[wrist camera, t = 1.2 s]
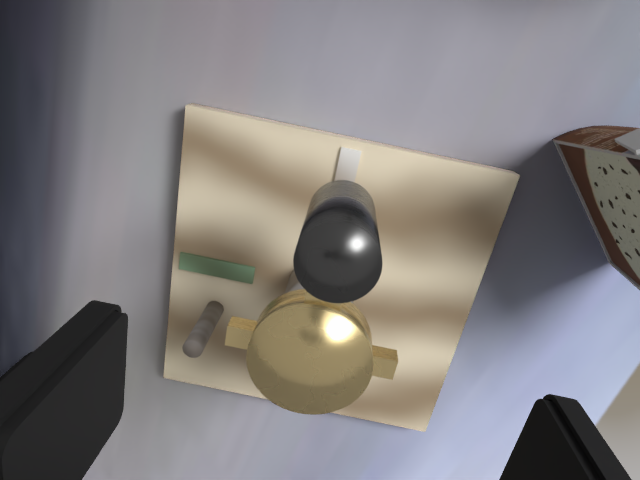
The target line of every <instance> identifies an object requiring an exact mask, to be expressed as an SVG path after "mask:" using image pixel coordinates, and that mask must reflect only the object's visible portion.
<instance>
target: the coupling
mask: <svg viewBox="0 0 640 480" xmlns="http://www.w3.org/2000/svg"><path fill="white" fill-rule="evenodd" d="M293 266H294V271H295V275H296V277H297V279H298V281H299V283H300V284H301V286H302V287H303V288H304V289H299V290H294V291H290V292H288V293H285V294H283V295H281V296H279V297H277V298H276V299H274V300H273V301H271V302H270V303H269V304H268V305H267V306H266V307H265V308H264V310H263V311H262V312H261V314H260V316H259V318H258V320H257V321H255V320H250V319H245V318H240V317H235V316H232V317H231V319H230V321H229V323H228V326H227V332H226V339H225V345H226V346H231V347H236V348H241V349H246V350H247V353H246V363H247V369H248V372H249V375H250V378H251V379H252V381H253V383H254V385H255V386H256V387H257V389H258V390H259V391H260V392H261V393H262V394H263V395H264V396H265V397H266V398H267V399H268V400H270V401H271V402H273V403H274V404H276V405H278V406H280V407H282V408H284V409H287V410H289V411H293V412H297V413H302V414H325V413H330V412H334V411H337V410H340V409H342V408H344V407H346V406H348V405H350V404H351V403H353V402H354V401H355V400H357V399H358V398H359V397H360V396H361V395H362V394H363V392H364V391H365V390H366V388H367V386H368V385H369V382H370V380H371V377H372V376H376V377H381V378H386V379H390V380H393V377H394V374H395V371H396V367H397V364H398V355H397V350H394V349H389V348H385V347H380V346H375V345H372V336H371V331H370V327H369V325H368V322H367V320H366V318H365V317H364V315H363V314H362V313H361V311H360V310H359V309H358V308H357V307H356V306H355V305H354V304H353V303H351V302H352V301H355V300H357V299H360V298H362V297H363V296H365V295H366V294H367V293H369V292H370V291H371V290H372V289H373V288H374V286H375V285H376V284H377V282H378V280H379V278H380V275H381V272H382V254H381V247H380V240H379V233H378V226H377V219H376V212H375V205H374V202H373V199H372V197H371V195H370V194H369V193H368V191H367V190H366V189H365V188H363V187H362V186H361V185H359V184H357V183H355V182H352V181H348V180H335V181H331V182H329V183H326V184H325V185H323V186H322V187H320V188H319V189H318V190H317V191H316V192H315V194H314V195H313V197H312V199H311V201H310V204H309V207H308V210H307V214H306V217H305V220H304V223H303V227H302V230H301V233H300V236H299V239H298V243H297V246H296V249H295V253H294V258H293Z"/></svg>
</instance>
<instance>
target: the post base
mask: <svg viewBox="0 0 640 480" xmlns="http://www.w3.org/2000/svg"><path fill="white" fill-rule="evenodd" d="M519 177H520V175H519V174H517V173H516V172H514V171H511V170H506V169H502V168H497V167H492V166H487V165H483V164H478V163H473V162H468V161H464V160H459V159H454V158H449V157H445V156H440V155H435V154H431V153H426V152H421V151H416V150H412V149H407V148H402V147H397V146H393V145H388V144H383V143H378V142H374V141H369V140H364V139H359V138H355V137H350V136H345V135H341V134H336V133H331V132H326V131H322V130H317V129H312V128H307V127H303V126H298V125H293V124H288V123H284V122H279V121H274V120H270V119H265V118H260V117H255V116H251V115H246V114H241V113H236V112H232V111H227V110H222V109H217V108H213V107H208V106H203V105H198V104H194V103H191V104H188V105H186V107H185V119H184V131H183V144H182V156H181V168H180V180H179V193H178V205H177V217H176V229H175V241H174V254H173V266H172V278H171V290H170V303H169V315H168V327H167V339H166V351H165V364H164V376H163V378H167V379H172V380H176V381H181V382H186V383H191V384H196V385H201V386H205V387H210V388H215V389H220V390H225V391H230V392H235V393H239V394H244V395H249V396H254V397H259V398H264V399H267V398H266V397H265V396H264V395H263V394H262V393H261V392H260V391H259V390H258V389H257V387H256V386H255V385H254V383H253V381H252V379H251V378H250V375H249V372H248V369H247V363H246V353H247V350H246V349H241V348H236V347H231V346H226V345H225V339H226V332H227V326H228V323H229V321H230V319H231V317H232V316H235V317H240V318H245V319H250V320H255V321H257V320H258V318H259V316H260V314H261V312H262V311H263V310H264V308H265V307H266V306H267V305H268V304H269V303H270V302H271V301H273V300H274V299H276V298H277V297H279V296H281V295H283V294H285V293H288V292H290V291H294V290H299V289H304V288H303V287H302V286H301V284H300V283H299V281H298V279H297V277H296V275H295V271H294V266H293V258H294V253H295V249H296V246H297V243H298V239H299V236H300V233H301V230H302V227H303V223H304V220H305V217H306V214H307V210H308V207H309V204H310V201H311V199H312V197H313V195H314V194H315V192H316V191H317V190H318V189H319V188H320V187H322V186H323V185H325V184H326V183H329V182H331V181H335V180H348V181H352V182H355V183H357V184H359V185H361V186H362V187H363V188H365V189H366V190H367V191H368V193H369V194H370V195H371V197H372V199H373V202H374V205H375V212H376V219H377V226H378V233H379V240H380V247H381V254H382V272H381V275H380V278H379V280H378V282H377V284H376V285H375V286H374V288H373V289H372V290H371V291H370V292H369V293H367V294H366V295H365V296H363V297H362V298H360V299H357V300H355V301H352V302H351V303H353V304H354V305H355V306H356V307H357V308H358V309H359V310H360V311H361V313H362V314H363V315H364V317H365V318H366V320H367V322H368V325H369V327H370V331H371V336H372V345H375V346H380V347H385V348H389V349H394V350H397V355H398V364H397V367H396V371H395V374H394V377H393V380H390V379H386V378H381V377H376V376H372V377H371V380H370V382H369V385H368V386H367V388H366V390H365V391H364V392H363V394H362V395H361V396H360V397H359V398H358V399H357V400H355V401H354V402H353V403H351V404H350V405H348V406H346V407H344V408H342V409H340V410H337V411H334V412H331V413H336V414H341V415H346V416H351V417H356V418H360V419H365V420H370V421H375V422H380V423H385V424H389V425H394V426H399V427H404V428H409V429H414V430H419V431H423V432H425V431H426V428H427V425H428V423H429V420H430V417H431V415H432V412H433V409H434V407H435V404H436V401H437V398H438V396H439V393H440V390H441V388H442V385H443V382H444V380H445V377H446V374H447V371H448V369H449V366H450V363H451V361H452V358H453V355H454V353H455V350H456V347H457V345H458V342H459V339H460V336H461V334H462V331H463V328H464V326H465V323H466V320H467V318H468V315H469V312H470V309H471V307H472V304H473V301H474V299H475V296H476V293H477V291H478V288H479V285H480V283H481V280H482V277H483V274H484V272H485V269H486V266H487V264H488V261H489V258H490V256H491V253H492V250H493V247H494V245H495V242H496V239H497V237H498V234H499V231H500V229H501V226H502V223H503V221H504V218H505V215H506V212H507V210H508V207H509V204H510V202H511V199H512V196H513V194H514V191H515V188H516V185H517V183H518V180H519Z"/></svg>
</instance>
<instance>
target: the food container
mask: <svg viewBox="0 0 640 480" xmlns="http://www.w3.org/2000/svg"><path fill="white" fill-rule="evenodd" d="M552 140H553V142H554V144H555V146H556V149H557V151H558V153H559V155H560V157H561V159H562V162H563V164H564V166H565V168H566V170H567V173H568V175H569V177H570V179H571V181H572V183H573V186H574V188H575V190H576V192H577V194H578V197H579V199H580V201H581V203H582V205H583V207H584V210H585V212H586V214H587V216H588V218H589V221H590V223H591V225H592V227H593V229H594V231H595V234H596V236H597V238H598V240H599V242H600V245H601V247H602V249H603V251H604V253H605V255H606V258H607V260H608V262H609V263H610V264H611V265H612V266H613V267H614V268H615V269H616V270H617V271H619V272H620V273H621V274H622V275H623V276H624V277H625V278H626V279H628V280H629V281H630V282H631V283H632V284H633V285H634V286H635V287H637V288H638V289H639V290H640V128H633V127H620V126H590V127H585V128H579V129H576V130H573V131H570V132H567V133H565V134H562V135H560V136H558V137H556V138H554V139H552Z"/></svg>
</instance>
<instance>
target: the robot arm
mask: <svg viewBox="0 0 640 480" xmlns="http://www.w3.org/2000/svg"><path fill="white" fill-rule="evenodd" d="M127 328H128V316H127V314H126V313H121V308H120V306H119V305H115V304H110V303H105V302H100V301H95V300H94V301H91V302H89V303H88V304H87V305H86V306H85V307H84V308H82V309H81V310H80V311H79V312H78V313H77V314H76V315H75V316H73V317H72V318H71V319H70V320H69V321H68V322H67V323H66V324H64V325H63V326H62V327H61V328H60V329H59V330H58V331H57V332H55V333H54V334H53V335H52V336H51V337H50V338H49V339H48V340H47V341H45V342H44V343H43V344H42V345H41V346H40V347H39V348H38V349H36V350H35V351H34V352H30V353H29V354H27V355H26V356H24V357H23V358H22V359H21V360H20V361H19V362H17V363H16V364H15V365H14V366H13V367H12V368H11V369H9V370H8V371H7V372H6V373H5V374H4V375H3V376H1V377H0V480H82V478H83V477H84V475H85V474H86V472H87V471H88V469H89V468H90V466H91V465H92V463H93V462H94V460H95V459H96V457H97V456H98V454H99V453H100V451H101V449H102V448H103V446H104V445H105V443H106V442H107V440H108V439H109V437H110V436H111V434H112V433H113V431H114V430H115V428H116V427H117V425H118V423H119V421H120V419H121V416H122V412H123V407H124V387H125V367H126V348H127ZM499 480H631V478H630V477H629V475H628V474H627V472H626V471H625V469H624V468H623V466H622V465H621V463H620V462H619V460H618V459H617V458H616V456H615V455H614V453H613V452H612V450H611V449H610V447H609V446H608V444H607V443H606V441H605V440H604V439H603V437H602V436H601V434H600V433H599V431H598V430H597V428H596V427H595V425H594V424H593V422H592V421H591V419H590V418H589V417H588V415H587V414H586V412H585V411H584V409H583V408H582V406H581V405H580V403H579V402H578V401H577V400H574V399H571V398H566V397H561V396H556V395H551V394H548V395H546V396H545V397H544V398H543V399H538V400H537V401H536V402H535V404H534V406H533V408H532V410H531V412H530V414H529V416H528V419H527V421H526V423H525V425H524V427H523V430H522V432H521V434H520V436H519V438H518V440H517V443H516V445H515V447H514V449H513V451H512V453H511V456H510V458H509V460H508V462H507V464H506V466H505V469H504V471H503V473H502V475H501V477H500V479H499Z"/></svg>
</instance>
